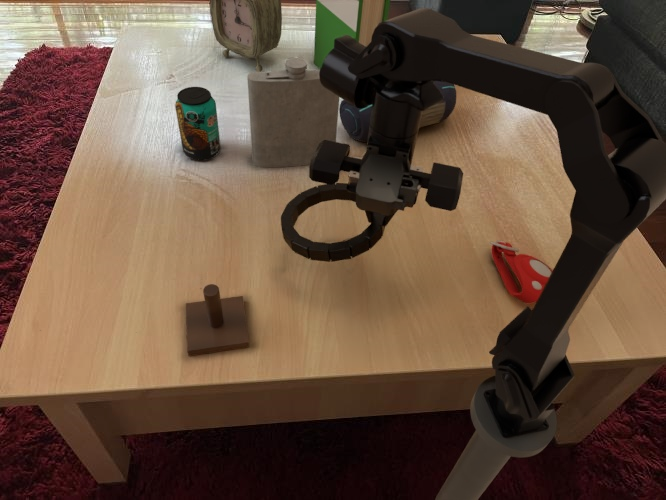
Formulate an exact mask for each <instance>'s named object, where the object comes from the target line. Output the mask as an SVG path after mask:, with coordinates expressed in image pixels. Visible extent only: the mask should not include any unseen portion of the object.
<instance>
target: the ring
mask: <svg viewBox="0 0 666 500" xmlns="http://www.w3.org/2000/svg"><path fill="white" fill-rule="evenodd" d="M347 184H348V182H336V183H334V184H332V185H330V184H325V183H323V184H320V185H319V184H318V185H317V186H316V185H315V186H313V187H310V188H308V189H306V190H304V191H301V192H300V193H298V194H297V195H295V197H293V198H292V199H291V200H289V201H288V202H287V204H285V207H284V209H283V211H282V214H281V215H280V225H281V226H280V227H281V234H282V237H283V241H284V242H285V244H287V246H288V247H289V248H290V249H291V251H292V252H293V253H294V254H297V255H299V256H301V257H303V258H305V259H307V260H310V261H317V262H324V263H330V262H331V263H333V262H335V263H336V262H339V261H340V262H341V261H346V260H350V259H351V260H352V259H354V258H356V257H358V256H360V255H362V254H364V253H366V252H369V251H370V250H371V249H372V248H373V247H374V246H376V245H377V243H378V242H379V241H380V240H381V239H382V238H383V237H384V232H385V229H386V226H383V223H384V218H385V215H382V214H381V213H377V212H374V215H373V218H372V222H371V223H369V225H368V226H367V227H366V228H365V229H364V230H363V231H362V232H361V233H359V234H356V235H354V236H353V237H350V238H349V239H347V240H341V241H340V240H339V241H334V242H324V241H323V242H322V241H313V240H310V239H309V238H307V237H304V236H303V235H301V234H300V233H299V232H298V231H297V229H295V225H296V223H297V221H298V218H299V217H300V216H301V215H302V214H303V213H304V212H305V211H307V210H308V209H310V208H312V207H313V206H316V205H318V204H320V203H323V202H330V201H336V200H337V201H339V200H340V201H350V202H354V203H356V194H354V193H351V192H348V191H347V189H346V187H347Z"/></svg>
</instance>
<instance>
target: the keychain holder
mask: <svg viewBox="0 0 666 500" xmlns="http://www.w3.org/2000/svg"><path fill="white" fill-rule="evenodd" d="M489 244H490V245H491V257H492V259H493V261H494V264H495V266H496V268H497V271H498V273H499V275H500V277H501V280H502V281H503V284H504V286H505V288H506V291H507V292H508V293H509V295H511V296H512V297H514V298H515V299H517V300H519V301H520V302H523V303H525V304H533V303H536V302H537V300H538V298H539V296H540V294H541V292H542V290H543V288H544V287H545V285H546V283H547V281H548V279H549V277H550V275H551V273H552V271H553V269H552V268H551V267H550V266H549V265H547V264H546V263H545V262H544V261H542V260H540V259H538V258H537V257H534V256H532V255H529V254H524V253H519V254H516V252H517V253H518V252H519V249H518V248H515V247H513V245H512V244H511V243H510V242H505V241H503V240H496V242H495V241H490V242H489ZM505 260H506V262H507V264H508V265H509V267H510V268H511V271H512V272H513V273H514V276H515V277H516V278H517V279H518V282H519V284H520V285H519V286H520V288H521V291H520V290H519V288H518V285H517V283H516V281H515V279H514V278H513V275H512V274H511V271H510V269H509V267H508V265H507V264H506V262H505Z"/></svg>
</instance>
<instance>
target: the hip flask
mask: <svg viewBox="0 0 666 500" xmlns="http://www.w3.org/2000/svg"><path fill="white" fill-rule="evenodd" d="M284 67H285V70H284V69H283V70H268V71H261V72H259V71H256V70H255V71H252V72H249V73H248V74H247V76H246V77H247V91H248V94H247V95H248V109H249V128H250V139H251V140H250V143H251V145H250V146H251V161H252V164H253V166H255V167H258V168H285V167H288V168H289V167H299V166H306V165H310V162H311V159H312V157H313V155H314V153H315V151H316V149H317V147H318V145H319V143H321V142H322V141H323V140H329V141H334V142H337V132H338V119H339V108H340V97H339V96H337V95H336V94H334V93H332V92H331V91H329V90H328V89H326V88H324V87H323V86H322V84H321V82H320V78H319V71H320V69H319V68H316V69H308V70H307V68H308V61H307V60H305V59H304V58H302V57H297V56H296V57H289V58H287V59H286V60H285V61H284Z"/></svg>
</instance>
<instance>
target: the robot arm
mask: <svg viewBox="0 0 666 500" xmlns="http://www.w3.org/2000/svg"><path fill="white" fill-rule="evenodd" d="M319 78H320V82H321V84H322V86H323V87H324V88H326V89H328V90H329V91H331V92H332V93H334V94H336V95H337V96H339V99H340V98H341V99H342V100H345V101H347V102H348V103H350V104H352V105H353V106H355V107H356V108H360V109H362V108H366V107H368V106H369V105H371V104H372V111H371V119H370V126H369V134H368V141H366V150H365V152H364V154H363V156H362V157H360V156H350V152H351V145H350V144H347V143H342V142H337V141H336V142H334V141H329V140H323V141H322V142H321V143H319V145H318V147H317V149H316V151H315V153H314V155H313V157H312V159H311V162H310V164H309V166H308V169H309V171H308V178H309V180H311V182H315V183H316V182H317V183H321V184H330V185H332V184H334V183H335V184H336V183H339V180H340V174H341V172H346V173H348V174H347V175H348V182H347V183H348V184H347V187H346V189H347V191H348V192H351V193H354V194H356V202H355V205H356V208H357V209H359V210H361V211H363V212H364V213H365V216H366V219H367V222H368V223H369V224H371V222H372V218H373V215H374V212H377V213H381V214H382V215H385V218H384V223H383V226H385V227H387V225H388V224H389V223H390V222H391V220H392V219H393V218H394V217H395V215H396V213H397V212H398V211H403V212H405V208H410V209H412V208H414V206H415V205H416V204H417V201H418V196H419V192H420V191H421V189H424V190H426V194H425V198H424V201H425V202H426V204H427V205H428V206H429V207H431V208H435V209H439V210H445V211H449V212H452V211H454V210H455V211H456V210H457V208H458V203H459V200H460V197H461V191H462V184H463V180H464V179H463V178H464V172H463V170H462V168H461V167H460V166H459V167H458V166H454V165H449V164H444V163H439V162H435V161H434V162H433V164H432V167H431V171H430V173H429V172H424V167H423V166H419V165H418V166H417V165H414V164H413V159H414V154H415V148H416V144H417V141H418V134H419V130H420V128H419V126H420V121H421V116H422V111H423V110H425V109H427V108H429V107H431V106H433V105H435V104H437V103H439V102H441V101H443V99H444V97H443V95H442V93H441V91H440V90H439V89H438V88H437V87H436V86H435V84H434V81H441V82H448V83H451V84H454V86H457V87H461V88H464V89H467V90H469V91H472V92H474V93H475V92H476V93H478V94H482V95H485V96H488V97H491V98H494V99H497V100H500V101H503V102H506V103H509V104H512V105H516V106H519V107H522V108H525V109H527V110H531V111H534V112H537V113H540V114H544V115H545V116H548V119H549V120H550V121H551V123H552V125H553V127H554V128H555V130H556V134H557V140H558V146H559V151H560V157H561V162H562V168H563V171H564V173H565V174H566V176H567V179H568V180H569V181H570V183H571V185H572V186H573V189H574V191H575V193H574V197H573V199H572V204H571V208H570V212H569V219H570V227H571V233H570V236H569V239H568V241H567V242H566V244H565V247H564V249H563V250H562V251H561V254H560V256H559V258H558V260H557V262H556V263H555V265H554V268H553V269H552V270H553V271H552V273H551V275H550V277H549V279H548V281H547V283H546V285H545V287H544V288H543V290H542V292H541V294H540V296H539V298H538V300H537V302H535V304H534V306H533V307H532V308H530V306H526V307H525V308H524V309H523V310H522V311H521V312H519V314H517V316H515V317H514V318H513V319H512V320H511V321H510V322H509V323H508V324H507V325H506V326H505V327H504V328H502V329H501V330H500V331H499V332H498V336H497V338H496V342H495V345H494V347H492V349H490V350H489V351H488V353H489V355H491V356H492V359H491V367H492V369H493V370H494V372H495V373H494V374H495V375H494V376H495V378H496V389H492V390H486V391H485V392H484V397H485V400H486V402H487V404H488V406H489V408H490V411H491V413H492V415H493V417H494V420H495V422H496V424H497V426H498V428H499V431H500V433H501V435H502V437H504V438H510V437H515V436H520V435H525V434H530V433H535V432H540V431H545V430H547V429H548V428H549V424H548V422H547V420H546V418H547V417H548V416H549V415H550V413H551V412H552V411H553V410H554V411H555V405H554V403H553V402H554V401H555V400H556V399H557V398H558V396H559V395H560V394H561V393H562V392H563V390H564V389H566V387H568V385H569V384H570V383H571V381H572V380H573V379H574V378H575V375H576V374H575V373H574V370H573V368H572V366H571V363H570V361H569V358H568V356H567V350H568V348H569V345H570V341H571V338H570V333H569V332H570V331H569V330H570V327H571V326H572V324H573V322H574V321H575V319H576V318H577V316H578V314H579V313H580V312H581V310H582V308H583V306H584V305H585V303H586V302H587V300H588V299H589V297H590V295H591V294H592V292H593V291H594V289H595V288H596V286H597V284H598V283H599V281H600V280H601V278H602V276H603V275H604V273H605V272H606V270H607V269H608V267H609V265H610V264H611V262H612V261H613V260H614V257H615V256H616V254H617V253H618V251H619V250H620V248H621V246H622V245H623V243H624V241H625V240H626V239H627V238H628V237H629V236H630V235H632V234H633V233H634V231H635V230H637V228H639V226H640V225H641V224H642V223H643V222H644V221H646V219H647V218H648V217H650V216H651V214H652V213H653V212H654V211H656V209H658V208H659V206H661V204H662V203H664V202H665V201H666V142H664V140H663V138H662V136H661V135H660V133H659V131H658V129H657V128H656V126H655V124H654V122H653V120H652V119H651V117H650V116H649V115H648V113H646V112H645V111H644V110H643V109H641V107H640V106H638V104H636V103H635V102H634V101H633V100H632V99H631V98H630V97H629V96H627V94H626V93H624V91H623V90H622V88H621V86H620V84H619V83H618V81H617V79H616V77H615V76H614V74H613V73H612V72H611V70H610V69H609V68H608V67H607V66H605V65H603V64H601V63H597V62H581V61H576V60H572V59H568V58H564V57H560V56H557V55H552V54H549V53H544V52H542V51H536V50H532V49H529V48H524V47H520V46H517V45H514V44H509V43H505V42H500V41H496V40H493V39H489V38H485V37H481V36H477V35H473V34H471V33H470V32H467V31H465V30H463V29H462V28H461V26H460V25H459V24H458V23H457V22H456V21H455V19H453V18H451V17H448V16H446V15H444V14H442V13H441V12H438V11H436V10H434V9H432V8H428V7H421V8H418V9H415V10H412V11H409V12H406V13H403V14H401V15H398V16H394V17H392V18H388V20H386V21H383V22H381V23H379V24H378V26H377V27H376V28H375V29H374V32H373V34H372V39H371V42H370V43H369V44H368V46H367V47H366V46H364V45H362V44H360V43H359V42H357V41H356V40H355V39H354V38H352V37H351V36H349V35H345V36H342V37H339V38H336V39H335V40H334V48H333V49H332V50H331V51H330V52H329V53H328V55H327V56H326V58H325V60H324V62H323V64H322V67H321V68H320V71H319ZM603 133H604V134H605V135H606V136H607V137H608V138H609V140H610V141H611V143H612V144H613V146H614V150H613V151H611V152H610V153H609V154H608V153H607V149H606V145H605V140H604V134H603ZM486 393H487V394H489V396H488V395H487V394H486ZM543 425H545V426H546V427H544V426H543ZM504 432H505V433H507V435H505V434H504Z"/></svg>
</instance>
